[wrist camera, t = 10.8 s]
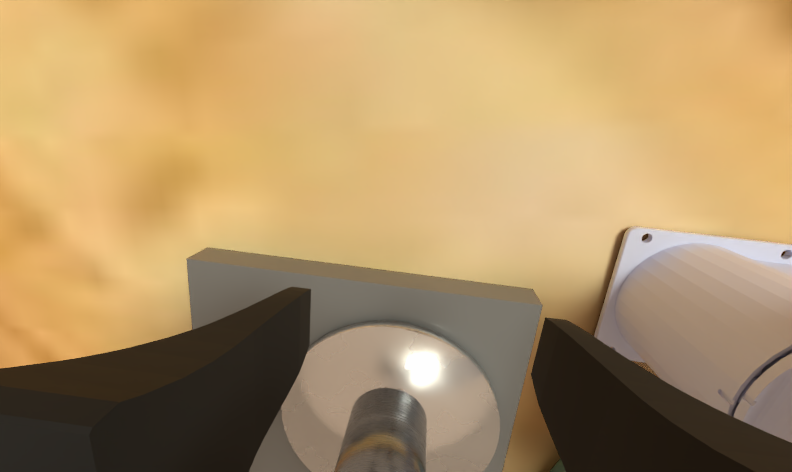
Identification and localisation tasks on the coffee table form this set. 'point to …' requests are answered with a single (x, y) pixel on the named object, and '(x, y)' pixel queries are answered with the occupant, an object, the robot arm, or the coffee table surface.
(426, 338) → the scale pan
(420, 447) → the cylinder
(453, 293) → the scale base
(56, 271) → the coffee table surface
